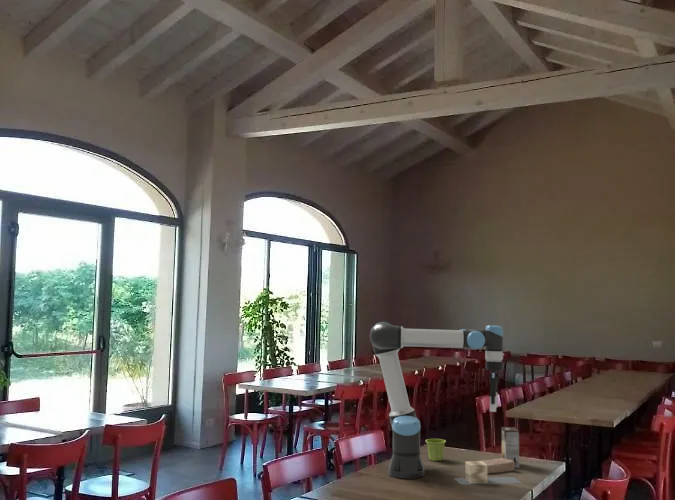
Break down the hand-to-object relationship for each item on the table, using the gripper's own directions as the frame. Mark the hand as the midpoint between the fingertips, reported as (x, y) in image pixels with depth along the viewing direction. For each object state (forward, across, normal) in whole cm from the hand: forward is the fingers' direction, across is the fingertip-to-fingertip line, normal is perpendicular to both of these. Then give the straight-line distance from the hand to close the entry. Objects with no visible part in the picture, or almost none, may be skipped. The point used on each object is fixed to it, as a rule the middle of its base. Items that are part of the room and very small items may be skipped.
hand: (493, 409), depth 307 cm
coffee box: (+26, +10, -7) cm, 29 cm away
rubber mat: (+26, -22, +1) cm, 34 cm away
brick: (+26, -4, -1) cm, 27 cm away
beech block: (+26, -24, +6) cm, 35 cm away
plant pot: (+26, +11, +26) cm, 39 cm away
